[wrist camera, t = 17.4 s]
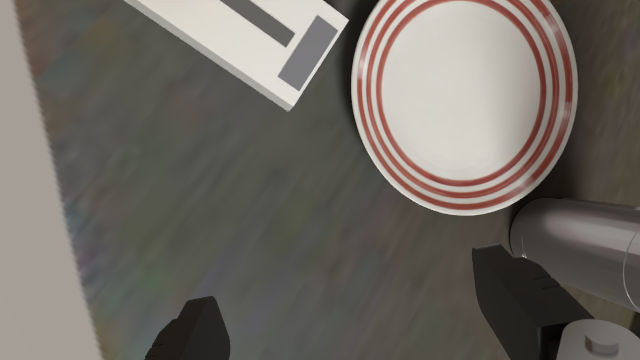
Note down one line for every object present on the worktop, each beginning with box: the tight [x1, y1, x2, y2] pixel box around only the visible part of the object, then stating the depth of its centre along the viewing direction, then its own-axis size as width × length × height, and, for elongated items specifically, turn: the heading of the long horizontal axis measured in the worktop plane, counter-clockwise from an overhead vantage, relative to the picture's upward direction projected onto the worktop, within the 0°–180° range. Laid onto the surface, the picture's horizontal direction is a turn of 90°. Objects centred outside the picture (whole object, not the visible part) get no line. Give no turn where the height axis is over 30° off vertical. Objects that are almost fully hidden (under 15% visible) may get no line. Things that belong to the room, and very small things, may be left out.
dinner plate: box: [351, 0, 578, 215], centre depth 43 cm, size 28×27×3 cm
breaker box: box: [124, 0, 349, 111], centre depth 37 cm, size 20×10×4 cm, turn 57°
